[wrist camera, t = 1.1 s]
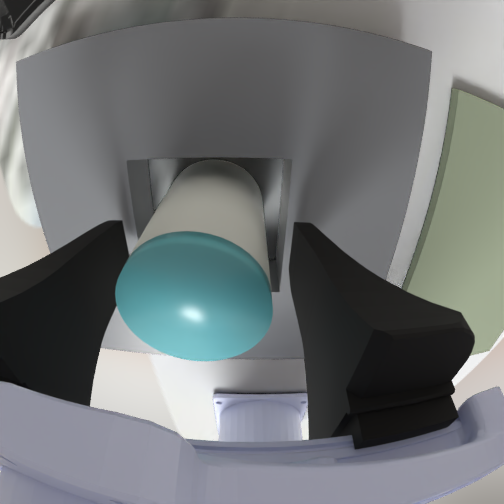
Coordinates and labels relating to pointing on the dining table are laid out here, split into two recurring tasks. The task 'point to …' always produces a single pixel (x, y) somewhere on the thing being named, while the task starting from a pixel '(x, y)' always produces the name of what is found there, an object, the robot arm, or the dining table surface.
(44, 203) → the housing
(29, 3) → the phone
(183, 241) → the cylinder
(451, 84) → the dining table surface
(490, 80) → the dining table surface
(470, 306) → the mat
